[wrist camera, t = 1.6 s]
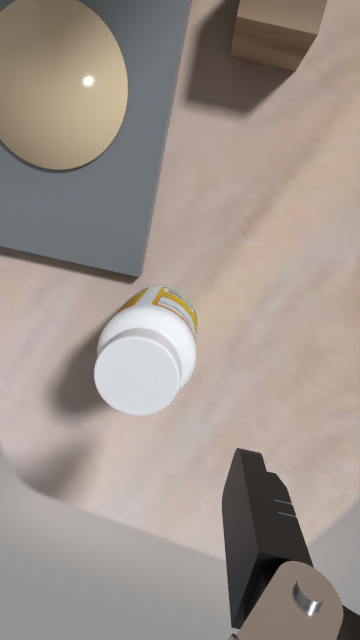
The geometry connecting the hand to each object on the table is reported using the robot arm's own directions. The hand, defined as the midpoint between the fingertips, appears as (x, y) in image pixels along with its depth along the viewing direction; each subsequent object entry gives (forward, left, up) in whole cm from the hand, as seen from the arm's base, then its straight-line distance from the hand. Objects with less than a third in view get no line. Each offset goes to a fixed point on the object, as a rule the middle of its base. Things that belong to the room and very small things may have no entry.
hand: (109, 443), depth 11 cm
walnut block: (-19, +3, -14) cm, 24 cm away
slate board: (-13, -9, -14) cm, 21 cm away
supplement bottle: (0, 0, -15) cm, 14 cm away
